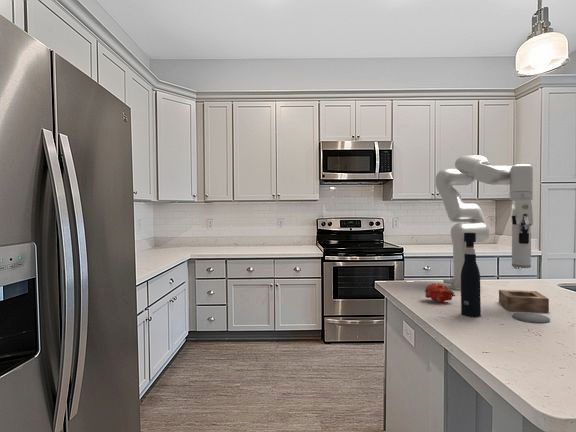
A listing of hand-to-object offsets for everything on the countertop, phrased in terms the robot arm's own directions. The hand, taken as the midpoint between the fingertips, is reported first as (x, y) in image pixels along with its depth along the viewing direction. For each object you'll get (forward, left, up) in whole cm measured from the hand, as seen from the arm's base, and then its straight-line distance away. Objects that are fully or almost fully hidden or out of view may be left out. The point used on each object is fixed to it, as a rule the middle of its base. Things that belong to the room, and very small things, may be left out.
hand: (520, 242), depth 142 cm
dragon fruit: (-30, +1, -26) cm, 39 cm away
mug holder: (0, 0, -25) cm, 25 cm away
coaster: (-2, -16, -25) cm, 30 cm away
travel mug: (0, 0, -10) cm, 10 cm away
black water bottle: (-21, -16, -26) cm, 37 cm away
